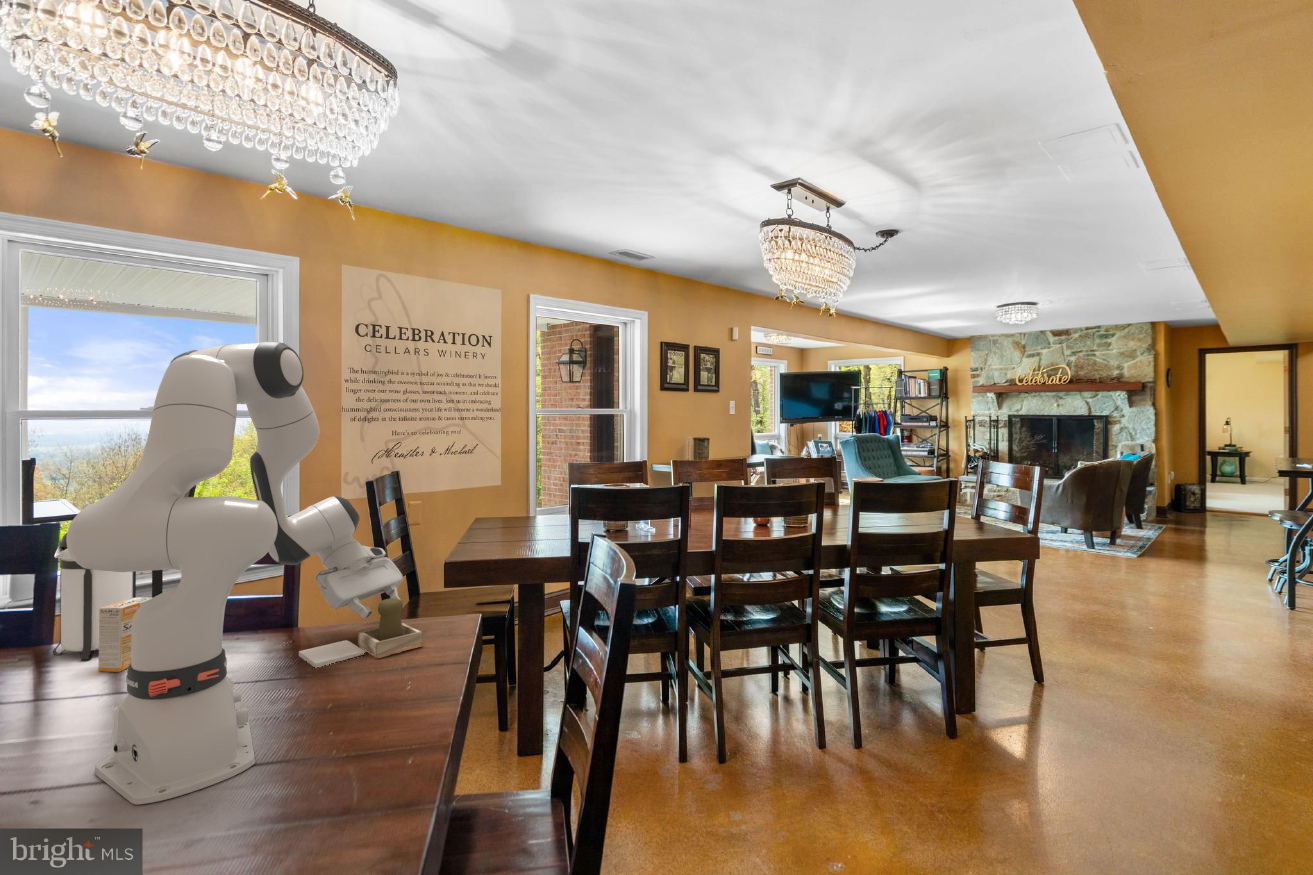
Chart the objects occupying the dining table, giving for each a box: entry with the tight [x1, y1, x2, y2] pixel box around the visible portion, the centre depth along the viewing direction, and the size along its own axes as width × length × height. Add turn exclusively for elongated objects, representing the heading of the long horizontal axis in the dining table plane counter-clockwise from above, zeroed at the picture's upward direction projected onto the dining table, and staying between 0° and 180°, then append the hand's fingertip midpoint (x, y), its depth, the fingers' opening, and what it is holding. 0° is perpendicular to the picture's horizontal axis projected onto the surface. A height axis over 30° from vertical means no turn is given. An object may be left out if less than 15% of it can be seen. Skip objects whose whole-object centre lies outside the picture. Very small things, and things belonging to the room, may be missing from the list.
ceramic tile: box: [298, 639, 366, 669], centre depth 132 cm, size 10×10×1 cm
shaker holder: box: [357, 621, 423, 656], centre depth 138 cm, size 10×10×4 cm
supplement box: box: [98, 596, 152, 673], centre depth 126 cm, size 8×5×13 cm, turn 179°
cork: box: [377, 598, 404, 641], centre depth 138 cm, size 6×6×11 cm
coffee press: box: [52, 532, 164, 662], centre depth 135 cm, size 17×16×30 cm
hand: (383, 609), depth 139 cm, fingers open, 8 cm apart
